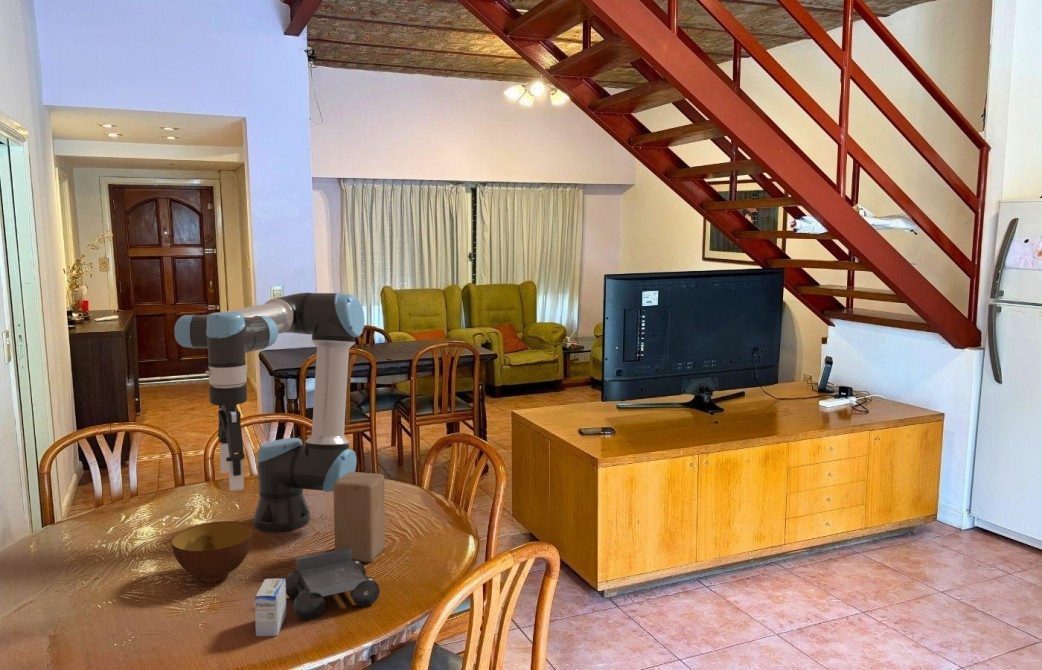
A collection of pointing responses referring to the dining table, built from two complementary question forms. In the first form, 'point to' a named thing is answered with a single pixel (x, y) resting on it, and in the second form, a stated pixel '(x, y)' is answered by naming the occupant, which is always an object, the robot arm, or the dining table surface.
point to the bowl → (212, 548)
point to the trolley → (328, 582)
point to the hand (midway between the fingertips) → (232, 480)
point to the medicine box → (270, 607)
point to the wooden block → (360, 514)
